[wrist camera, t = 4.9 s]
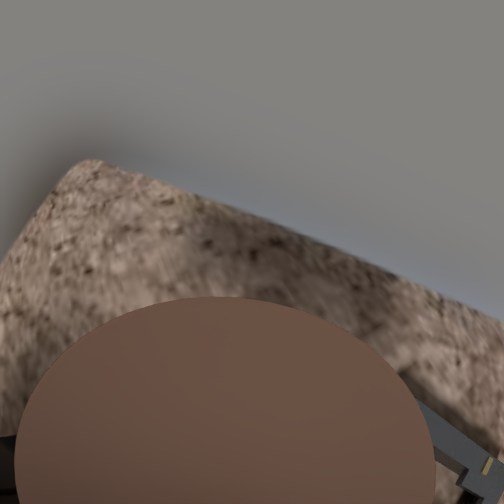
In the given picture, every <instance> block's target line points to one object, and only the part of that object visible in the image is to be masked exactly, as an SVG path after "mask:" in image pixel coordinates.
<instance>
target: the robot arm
mask: <svg viewBox="0 0 504 504" xmlns="http://www.w3.org/2000/svg"><path fill="white" fill-rule="evenodd" d="M16 437H17V434H16V435H12V436H6V437H0V504H20V502H19V498H18V493H17V488H16V482H15V468H14V456H15V445H16Z"/></svg>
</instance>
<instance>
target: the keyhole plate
mask: <svg viewBox="0 0 504 504" xmlns="http://www.w3.org/2000/svg"><path fill="white" fill-rule="evenodd" d="M414 398H415V399H416V401H417V403H418V405H419V407H420V409H421V412H422V414H423V416H424V418H425V420H426V423H427V426H428V429H429V433H430V436H431V440H432V443H433V449H434V456H435V460H436V461H438V462H439V463H441V464H442V465H444V466H445V467H447V468H449V469H450V470H452V471H453V472H455V473H457V474H458V475H460V476H459V478H458V480H457V482H456V484H455V485H457V486H459V487H460V488H462V489H464V490H466V491H467V492H469V493H471V494H473V496H472V498H471V500H470V502H469V503H468V504H497V502H498V501H499V499H500V497H501V495H502V493H503V491H504V464H503V463H502V462H500V461H499V460H498V459H496V458H495V457H493V456H492V455H491V454H489V453H488V452H487V451H485V450H484V449H483V448H481V447H480V446H479V445H477V444H476V443H475V442H473V441H472V440H471V439H469V438H468V437H467V436H465V435H464V434H463V433H461V432H460V431H459V430H457V429H456V428H455V427H454V426H452V425H451V424H450V423H448V422H447V421H446V420H444V419H443V418H442V417H440V416H439V415H438V414H436V413H435V412H434V411H432V410H431V409H430V408H429V407H427V406H426V405H425V404H423V403H422V402H421V401H419V400H418V399H417V398H416V397H414Z"/></svg>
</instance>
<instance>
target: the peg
mask: <svg viewBox="0 0 504 504" xmlns="http://www.w3.org/2000/svg"><path fill="white" fill-rule="evenodd" d="M14 468H15V482H16V488H17V493H18V498H19V502H20V504H433V500H434V493H435V482H436V464H435V456H434V449H433V443H432V440H431V436H430V433H429V429H428V426H427V423H426V420H425V418H424V416H423V414H422V412H421V409H420V407H419V405H418V403H417V401H416V399H415V398H414V396H413V395H412V393H411V392H410V390H409V389H408V387H407V385H406V384H405V382H404V381H403V380H402V379H401V378H400V376H399V375H398V374H397V373H396V372H395V371H394V369H393V368H392V367H391V366H390V365H389V364H388V363H387V362H386V361H385V360H384V359H383V358H382V357H381V356H379V355H378V354H377V353H376V352H375V351H374V350H373V349H372V348H370V347H369V346H368V345H366V344H365V343H363V342H362V341H361V340H359V339H358V338H356V337H355V336H353V335H352V334H350V333H349V332H347V331H345V330H344V329H342V328H340V327H338V326H336V325H334V324H332V323H330V322H328V321H326V320H324V319H322V318H319V317H317V316H314V315H312V314H309V313H306V312H304V311H301V310H299V309H295V308H291V307H288V306H284V305H280V304H276V303H272V302H267V301H260V300H253V299H247V298H236V297H201V298H187V299H179V300H174V301H169V302H164V303H158V304H154V305H151V306H147V307H144V308H141V309H138V310H135V311H132V312H128V313H126V314H124V315H122V316H120V317H117V318H115V319H113V320H111V321H109V322H106V323H104V324H102V325H101V326H99V327H98V328H96V329H94V330H93V331H91V332H90V333H88V334H86V335H85V336H83V337H82V338H80V339H79V340H78V341H77V342H75V343H74V344H73V345H72V346H71V347H70V348H68V349H67V350H66V351H65V352H64V353H62V354H61V355H60V356H59V358H58V359H57V360H56V361H55V362H54V363H53V364H52V365H51V367H50V368H49V369H48V370H47V371H46V372H45V373H44V375H43V376H42V378H41V380H40V381H39V383H38V384H37V386H36V387H35V389H34V391H33V392H32V394H31V396H30V398H29V400H28V403H27V405H26V407H25V410H24V412H23V414H22V417H21V421H20V425H19V429H18V433H17V437H16V445H15V456H14Z"/></svg>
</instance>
